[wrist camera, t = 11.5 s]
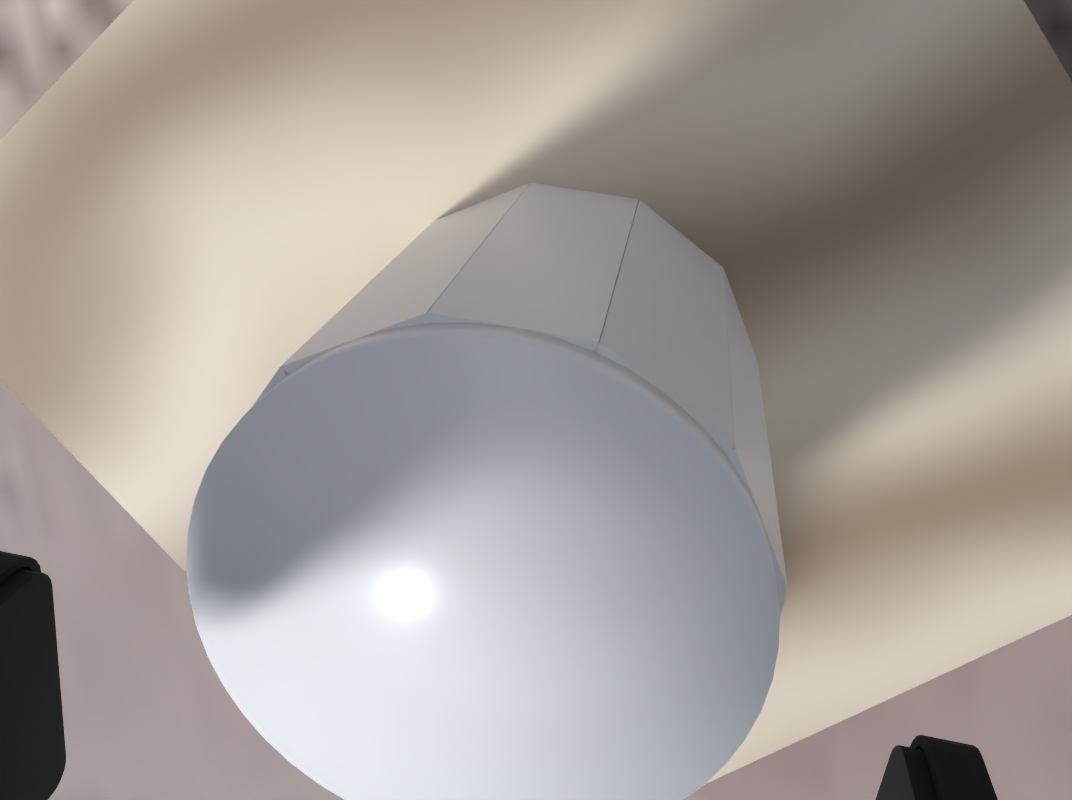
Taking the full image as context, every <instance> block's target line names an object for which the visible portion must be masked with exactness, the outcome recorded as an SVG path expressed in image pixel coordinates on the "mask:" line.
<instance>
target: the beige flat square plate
mask: <svg viewBox="0 0 1072 800" xmlns="http://www.w3.org/2000/svg"><path fill="white" fill-rule="evenodd" d="M531 182H533V183H539V184H545V185H552V186H558V187H564V188H571V189H577V190H583V191H590V192H596V193H602V194H609V195H615V196H621V197H628V198H634V199H638V201H639V200H641V201H642V202H643V203H644V204H646V205H647V206H648V207H649V208H650V209H652V210H653V211H654V212H655V213H657V214H658V215H659V216H660V217H662V218H663V219H664V220H665V221H667V222H668V223H669V224H670V225H671V226H673V227H674V228H675V229H676V230H678V231H679V232H680V233H681V234H683V235H684V236H685V237H686V238H687V239H689V240H690V241H691V242H692V243H694V244H695V245H696V246H697V247H699V248H700V249H701V250H702V251H704V252H705V253H706V254H707V255H708V256H710V257H711V258H712V259H713V260H715V261H716V262H717V263H718V264H720V265H721V266H722V267H723V269H724V270H725V273H726V276H727V278H728V281H729V284H730V287H731V290H732V292H733V295H734V298H735V301H736V304H737V306H738V309H739V312H740V315H741V318H742V320H743V323H744V326H745V329H746V332H747V334H748V337H749V340H750V343H751V345H752V348H753V351H754V354H755V357H756V359H757V362H758V368H759V375H760V383H761V390H762V398H763V405H764V413H765V420H766V428H767V435H768V443H769V450H770V458H771V465H772V473H773V480H774V488H775V495H776V503H777V510H778V518H779V525H780V533H781V540H782V548H783V555H784V563H785V570H786V578H787V585H788V591H787V594H786V598H785V602H784V605H783V609H782V613H781V616H780V623H779V649H778V655H777V660H776V665H775V670H774V675H773V680H772V683H771V686H770V689H769V691H768V694H767V697H766V699H765V702H764V705H763V708H762V710H761V712H760V714H759V716H758V718H757V719H756V721H755V723H754V725H753V727H752V728H751V730H750V732H749V734H748V735H747V737H746V739H745V740H744V742H743V743H742V744H741V745H740V747H739V748H738V749H737V751H736V752H735V753H734V754H733V756H732V757H731V758H730V759H729V761H728V762H727V763H726V764H725V765H724V766H723V767H722V768H721V769H720V770H719V771H718V772H717V773H716V774H715V775H714V776H713V777H712V778H711V779H710V780H709V781H707V782H706V783H708V782H711V781H713V780H715V779H717V778H719V777H721V776H724V775H726V774H728V773H730V772H732V771H734V770H737V769H739V768H741V767H743V766H745V765H747V764H750V763H752V762H754V761H756V760H758V759H760V758H763V757H765V756H767V755H769V754H771V753H773V752H776V751H778V750H780V749H782V748H784V747H786V746H789V745H791V744H793V743H795V742H797V741H799V740H802V739H804V738H806V737H808V736H810V735H812V734H814V733H817V732H819V731H821V730H823V729H825V728H827V727H830V726H832V725H834V724H836V723H838V722H840V721H843V720H845V719H847V718H849V717H851V716H853V715H856V714H858V713H860V712H862V711H864V710H866V709H869V708H871V707H873V706H875V705H877V704H879V703H882V702H884V701H886V700H888V699H890V698H892V697H895V696H897V695H899V694H901V693H903V692H905V691H908V690H910V689H912V688H914V687H916V686H918V685H921V684H923V683H925V682H927V681H929V680H931V679H933V678H936V677H938V676H940V675H942V674H944V673H946V672H949V671H951V670H953V669H955V668H957V667H959V666H962V665H964V664H966V663H968V662H970V661H972V660H975V659H977V658H979V657H981V656H983V655H985V654H988V653H990V652H992V651H994V650H996V649H998V648H1001V647H1003V646H1005V645H1007V644H1009V643H1011V642H1014V641H1016V640H1018V639H1020V638H1022V637H1024V636H1027V635H1029V634H1031V633H1033V632H1035V631H1037V630H1040V629H1042V628H1044V627H1046V626H1048V625H1050V624H1052V623H1055V622H1057V621H1059V620H1061V619H1063V618H1065V617H1068V616H1070V615H1072V81H1071V79H1070V77H1069V76H1068V74H1067V72H1066V71H1065V69H1064V67H1063V66H1062V64H1061V62H1060V61H1059V59H1058V57H1057V55H1056V54H1055V52H1054V50H1053V49H1052V47H1051V45H1050V44H1049V42H1048V40H1047V39H1046V37H1045V35H1044V34H1043V32H1042V30H1041V29H1040V27H1039V25H1038V24H1037V22H1036V20H1035V18H1034V17H1033V15H1032V13H1031V12H1030V10H1029V8H1028V7H1027V5H1026V3H1025V2H1024V0H133V1H132V3H131V4H130V5H129V6H128V7H127V8H126V9H125V10H124V11H123V12H122V13H121V14H120V15H119V16H118V17H117V18H116V19H115V20H114V21H113V22H112V23H111V24H110V26H109V27H108V28H107V29H106V30H105V31H104V32H103V33H102V34H101V35H100V36H99V37H98V38H97V39H96V40H95V41H94V42H93V43H92V44H91V45H90V46H89V48H88V49H87V50H86V51H85V52H84V53H83V54H82V55H81V56H80V57H79V58H78V59H77V60H76V61H75V62H74V63H73V64H72V65H71V66H70V67H69V68H68V69H67V71H66V72H65V73H64V74H63V75H62V76H61V77H60V78H59V79H58V80H57V81H56V82H55V83H54V84H53V85H52V86H51V87H50V88H49V89H48V90H47V91H46V92H45V94H44V95H43V96H42V97H41V98H40V99H39V100H38V101H37V102H36V103H35V104H34V105H33V106H32V107H31V108H30V109H29V110H28V111H27V112H26V113H25V114H24V116H23V117H22V118H21V119H20V120H19V121H18V122H17V123H16V124H15V125H14V126H13V127H12V128H11V129H10V130H9V131H8V132H7V133H6V134H5V135H4V136H3V137H2V139H1V140H0V380H1V381H2V382H3V383H4V384H5V385H6V386H7V387H8V388H9V389H10V390H11V391H12V392H13V393H14V394H15V395H16V396H17V397H18V398H19V399H20V400H21V401H22V403H23V404H24V405H25V406H26V407H27V408H28V409H29V410H30V411H31V412H32V413H33V414H34V415H35V416H36V417H37V418H38V419H39V420H40V421H41V422H42V423H43V424H44V425H45V426H46V427H47V429H48V430H49V431H50V432H51V433H52V434H53V435H54V436H55V437H56V438H57V439H58V440H59V441H60V442H61V443H62V444H63V445H64V446H65V447H66V448H67V449H68V450H69V451H70V452H71V453H72V455H73V456H74V457H75V458H76V459H77V460H78V461H79V462H80V463H81V464H82V465H83V466H84V467H85V468H86V469H87V470H88V471H89V472H90V473H91V474H92V475H93V476H94V477H95V478H96V479H97V481H98V482H99V483H100V484H101V485H102V486H103V487H104V488H105V489H106V490H107V491H108V492H109V493H110V494H111V495H112V496H113V497H114V498H115V499H116V500H117V501H118V502H119V503H120V504H121V506H122V507H123V508H124V509H125V510H126V511H127V512H128V513H129V514H130V515H131V516H132V517H133V518H134V519H135V520H136V521H137V522H138V523H139V524H140V525H141V526H142V527H143V528H144V529H145V530H146V532H147V533H148V534H149V535H150V536H151V537H152V538H153V539H154V540H155V541H156V542H157V543H158V544H159V545H160V546H161V547H162V548H163V549H164V550H165V551H166V552H167V553H168V554H169V555H170V556H171V558H172V559H173V560H174V561H175V562H176V563H177V564H178V565H179V566H180V567H181V568H182V569H183V570H184V571H185V572H186V573H187V569H186V554H187V535H188V528H189V523H190V518H191V513H192V509H193V504H194V500H195V497H196V494H197V492H198V489H199V487H200V484H201V481H202V479H203V476H204V474H205V471H206V469H207V467H208V465H209V464H210V462H211V460H212V459H213V457H214V455H215V453H216V452H217V450H218V448H219V447H220V445H221V443H222V441H223V440H224V439H225V438H226V436H227V435H228V434H229V433H230V432H231V430H232V429H233V428H234V427H235V426H236V424H237V423H238V422H239V421H240V419H241V418H242V417H243V416H244V415H245V414H246V413H247V412H248V411H249V410H250V409H251V408H252V406H253V405H254V403H255V402H256V401H257V399H258V398H259V396H260V395H261V393H262V392H263V390H264V389H265V388H266V386H267V385H268V383H269V382H270V380H271V379H272V378H273V376H274V375H275V373H276V372H277V370H278V369H279V368H280V367H281V366H282V365H283V364H284V363H285V362H286V361H287V360H288V359H289V358H290V357H291V356H292V355H293V354H294V353H295V352H296V351H297V350H298V349H299V348H301V347H302V346H303V345H304V344H305V343H306V342H307V341H308V340H309V339H310V338H311V337H312V336H313V335H314V334H315V333H316V332H317V331H318V330H319V329H321V328H322V327H323V326H324V325H325V324H326V323H327V322H328V321H329V320H330V319H331V318H332V317H333V316H334V315H335V314H336V313H337V312H338V311H340V310H341V309H342V308H343V307H344V306H345V305H346V304H347V303H348V302H349V301H350V300H351V299H352V298H353V297H354V296H355V295H356V294H357V293H358V292H360V291H361V290H362V289H363V288H364V287H365V286H366V285H367V284H368V283H369V282H370V281H371V280H372V279H373V278H374V277H375V276H376V275H377V274H378V273H380V272H381V271H382V270H383V269H384V268H385V267H386V266H387V265H388V264H389V263H390V262H391V261H392V260H393V259H394V258H395V257H396V256H397V255H399V254H400V253H401V252H402V251H403V250H404V249H405V248H406V247H407V246H408V245H409V244H410V243H411V242H412V241H413V240H414V239H415V238H416V237H417V236H419V235H420V234H421V233H422V232H423V231H424V230H425V229H426V228H427V227H428V226H429V225H430V224H431V223H432V222H433V221H434V220H437V219H439V218H442V217H445V216H447V215H450V214H452V213H455V212H457V211H460V210H462V209H465V208H467V207H470V206H472V205H475V204H477V203H480V202H482V201H485V200H487V199H490V198H492V197H495V196H497V195H500V194H502V193H505V192H507V191H510V190H512V189H515V188H517V187H520V186H522V185H525V184H527V183H531ZM706 783H705V784H706Z"/></svg>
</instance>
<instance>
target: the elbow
mask: <svg viewBox="0 0 1072 800" xmlns="http://www.w3.org/2000/svg"><path fill="white" fill-rule="evenodd" d="M186 569H187V579H188V590H189V598H190V602H191V606H192V610H193V614H194V618H195V622H196V627H197V629H198V632H199V635H200V637H201V640H202V642H203V645H204V648H205V650H206V653H207V655H208V658H209V660H210V662H211V663H212V665H213V667H214V669H215V671H216V673H217V675H218V676H219V678H220V680H221V682H222V684H223V686H224V687H225V689H226V690H227V692H228V693H229V695H230V696H231V697H232V699H233V700H234V702H235V703H236V705H237V706H238V708H239V709H240V710H241V712H242V713H243V715H244V716H245V717H246V718H247V719H248V720H249V721H250V723H251V724H252V725H253V726H254V727H255V728H256V729H257V731H258V732H259V733H260V734H261V735H262V736H263V737H264V739H265V740H266V741H267V742H269V743H270V744H271V745H272V746H273V747H274V748H275V749H276V750H277V751H278V752H279V753H280V754H282V755H283V756H284V757H285V758H286V759H287V760H288V761H289V762H290V763H291V764H293V765H294V766H295V767H297V768H298V769H299V770H301V771H302V772H303V773H305V774H306V775H307V776H309V777H310V778H311V779H313V780H314V781H315V782H317V783H318V784H320V785H321V786H323V787H325V788H326V789H328V790H329V791H331V792H333V793H334V794H336V795H338V796H339V797H341V798H343V799H344V800H684V799H685V798H687V797H688V796H690V795H691V794H692V793H694V792H695V791H697V790H698V789H699V788H701V787H702V786H703V785H704V784H705V783H706V782H707V781H709V780H710V779H711V778H712V777H713V776H714V775H715V774H716V773H717V772H718V771H719V770H720V769H721V768H722V767H723V766H724V765H725V764H726V763H727V762H728V761H729V759H730V758H731V757H732V756H733V754H734V753H735V752H736V751H737V749H738V748H739V747H740V745H741V744H742V743H743V742H744V740H745V739H746V737H747V735H748V734H749V732H750V730H751V728H752V727H753V725H754V723H755V721H756V719H757V718H758V716H759V714H760V712H761V710H762V708H763V705H764V702H765V699H766V697H767V694H768V691H769V689H770V686H771V683H772V680H773V675H774V670H775V665H776V660H777V655H778V649H779V623H780V616H781V613H782V609H783V605H784V602H785V598H786V594H787V591H788V585H787V578H786V570H785V563H784V555H783V548H782V540H781V533H780V525H779V518H778V510H777V503H776V495H775V488H774V480H773V473H772V465H771V458H770V450H769V443H768V435H767V428H766V420H765V413H764V405H763V398H762V390H761V383H760V375H759V368H758V362H757V359H756V357H755V354H754V351H753V348H752V345H751V343H750V340H749V337H748V334H747V332H746V329H745V326H744V323H743V320H742V318H741V315H740V312H739V309H738V306H737V304H736V301H735V298H734V295H733V292H732V290H731V287H730V284H729V281H728V278H727V276H726V273H725V270H724V269H723V267H722V266H721V265H720V264H718V263H717V262H716V261H715V260H713V259H712V258H711V257H710V256H708V255H707V254H706V253H705V252H704V251H702V250H701V249H700V248H699V247H697V246H696V245H695V244H694V243H692V242H691V241H690V240H689V239H687V238H686V237H685V236H684V235H683V234H681V233H680V232H679V231H678V230H676V229H675V228H674V227H673V226H671V225H670V224H669V223H668V222H667V221H665V220H664V219H663V218H662V217H660V216H659V215H658V214H657V213H655V212H654V211H653V210H652V209H650V208H649V207H648V206H647V205H646V204H644V203H643V202H642V201H641V200H639V201H638V199H634V198H628V197H621V196H615V195H609V194H602V193H596V192H590V191H583V190H577V189H571V188H564V187H558V186H552V185H545V184H539V183H533V182H531V183H527V184H525V185H522V186H520V187H517V188H515V189H512V190H510V191H507V192H505V193H502V194H500V195H497V196H495V197H492V198H490V199H487V200H485V201H482V202H480V203H477V204H475V205H472V206H470V207H467V208H465V209H462V210H460V211H457V212H455V213H452V214H450V215H447V216H445V217H442V218H439V219H437V220H434V221H433V222H432V223H431V224H430V225H429V226H428V227H427V228H426V229H425V230H424V231H423V232H422V233H421V234H420V235H419V236H417V237H416V238H415V239H414V240H413V241H412V242H411V243H410V244H409V245H408V246H407V247H406V248H405V249H404V250H403V251H402V252H401V253H400V254H399V255H397V256H396V257H395V258H394V259H393V260H392V261H391V262H390V263H389V264H388V265H387V266H386V267H385V268H384V269H383V270H382V271H381V272H380V273H378V274H377V275H376V276H375V277H374V278H373V279H372V280H371V281H370V282H369V283H368V284H367V285H366V286H365V287H364V288H363V289H362V290H361V291H360V292H358V293H357V294H356V295H355V296H354V297H353V298H352V299H351V300H350V301H349V302H348V303H347V304H346V305H345V306H344V307H343V308H342V309H341V310H340V311H338V312H337V313H336V314H335V315H334V316H333V317H332V318H331V319H330V320H329V321H328V322H327V323H326V324H325V325H324V326H323V327H322V328H321V329H319V330H318V331H317V332H316V333H315V334H314V335H313V336H312V337H311V338H310V339H309V340H308V341H307V342H306V343H305V344H304V345H303V346H302V347H301V348H299V349H298V350H297V351H296V352H295V353H294V354H293V355H292V356H291V357H290V358H289V359H288V360H287V361H286V362H285V363H284V364H283V365H282V366H281V367H280V368H279V369H278V370H277V372H276V373H275V375H274V376H273V378H272V379H271V380H270V382H269V383H268V385H267V386H266V388H265V389H264V390H263V392H262V393H261V395H260V396H259V398H258V399H257V401H256V402H255V403H254V405H253V406H252V408H251V409H250V410H249V411H248V412H247V413H246V414H245V415H244V416H243V417H242V418H241V419H240V421H239V422H238V423H237V424H236V426H235V427H234V428H233V429H232V430H231V432H230V433H229V434H228V435H227V436H226V438H225V439H224V440H223V441H222V443H221V445H220V447H219V448H218V450H217V452H216V453H215V455H214V457H213V459H212V460H211V462H210V464H209V465H208V467H207V469H206V471H205V474H204V476H203V479H202V481H201V484H200V487H199V489H198V492H197V494H196V497H195V500H194V504H193V509H192V513H191V518H190V523H189V528H188V535H187V554H186Z"/></svg>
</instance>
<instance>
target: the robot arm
mask: <svg viewBox="0 0 1072 800" xmlns="http://www.w3.org/2000/svg"><path fill="white" fill-rule="evenodd" d="M65 763H66V752H65V740H64V727H63V715H62V703H61V690H60V678H59V665H58V653H57V641H56V628H55V616H54V603H53V591H52V583H51V579H50V578H49V576H48V575H46V574H44V573H41V569H40V566H39V564H38V563H37V561H36V560H35V559H33V558H31V557H27V556H22V555H17V554H12V553H7V552H2V551H0V800H48V798H49V797H50V796H51V795H52V793H53V792H54V791H55V789H56V788H57V786H58V784H59V782H60V780H61V777H62V775H63V772H64V768H65ZM876 800H997V797H996V794H995V791H994V788H993V786H992V783H991V780H990V777H989V774H988V772H987V769H986V766H985V763H984V760H983V758H982V755H981V753H980V751H979V749H978V748H976V747H975V746H973V745H968V744H963V743H958V742H953V741H948V740H943V739H938V738H933V737H928V736H923V735H919V736H916V738H915V739H914V740H913V742H912V744H911V746H910V747H905V746H900V745H898V746H895V747H894V749H893V750H892V753H891V755H890V758H889V761H888V764H887V767H886V770H885V773H884V776H883V779H882V782H881V785H880V788H879V791H878V794H877V797H876Z"/></svg>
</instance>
